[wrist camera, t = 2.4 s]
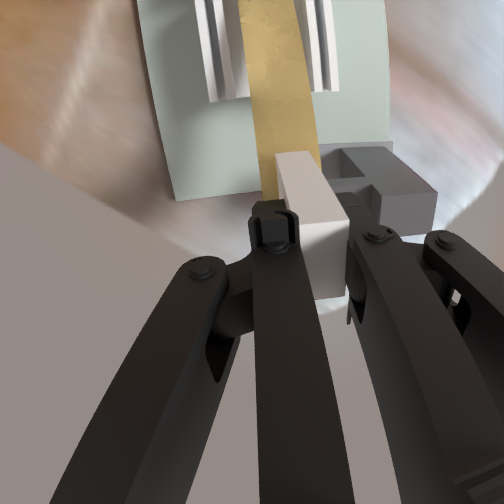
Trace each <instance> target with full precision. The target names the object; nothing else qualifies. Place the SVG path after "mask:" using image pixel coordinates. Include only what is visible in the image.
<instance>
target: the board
mask: <svg viewBox="0 0 504 504" xmlns="http://www.w3.org/2000/svg"><path fill="white" fill-rule="evenodd" d="M293 2H294V6H295V11H296V16H297V20H298V25H299V30H300V35H301V40H302V45H303V50H304V55H305V61H306V66H307V72H308V78H309V84H310V90H311V96H312V102H313V109H314V115H315V122H316V129H317V137H318V144H319V152H320V160H321V168H322V174H323V175H324V177H325V179H326V180H327V179H340V178H341V148H353V147H381V146H384V147H385V148H387V149H388V150H389V151H390V152H392V153H393V142H392V141H390V74H389V52H388V38H387V25H386V15H385V6H384V0H293ZM137 5H138V12H139V19H140V25H141V32H142V38H143V44H144V50H145V56H146V62H147V67H148V73H149V78H150V84H151V89H152V94H153V99H154V104H155V109H156V114H157V119H158V124H159V129H160V133H161V138H162V143H163V147H164V152H165V156H166V161H167V165H168V169H169V174H170V178H171V182H172V186H173V191H174V195H175V199H176V202H177V201H184V200H191V199H198V198H206V197H214V196H221V195H229V194H238V193H246V192H255V191H262V190H261V181H260V173H259V164H258V156H257V147H256V139H255V130H254V122H253V114H252V106H251V98H250V90H249V82H248V74H247V67H246V59H245V51H244V44H243V36H242V29H241V22H240V14H239V7H238V0H137Z"/></svg>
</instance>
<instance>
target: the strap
mask: <svg viewBox="0 0 504 504" xmlns="http://www.w3.org/2000/svg"><path fill="white" fill-rule="evenodd" d="M238 7H239V14H240V22H241V29H242V36H243V44H244V51H245V59H246V67H247V74H248V82H249V90H250V98H251V106H252V114H253V122H254V130H255V139H256V147H257V156H258V164H259V173H260V181H261V190H262V199H263V201H267V200H276V199H279V191H278V180H277V169H276V159H275V153H285V152H296V151H309V153H310V154H311V156H312V157H313V159H314V161H315V162H316V164H317V165H318V167H319V169H320V170H321V172H322V168H321V160H320V152H319V144H318V137H317V129H316V122H315V115H314V109H313V102H312V96H311V90H310V84H309V78H308V72H307V66H306V61H305V55H304V50H303V45H302V40H301V35H300V30H299V25H298V20H297V16H296V11H295V6H294V2H293V0H238Z"/></svg>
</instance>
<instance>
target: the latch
mask: <svg viewBox="0 0 504 504" xmlns="http://www.w3.org/2000/svg"><path fill="white" fill-rule="evenodd" d="M327 182H328V184H329V185H330V187H331V189H332V190H333V192H334V193H341V192H352V193H354V194H355V195H357V196H359V197H360V198H361V199H362V201H363V202H364V203H365V205H366V206H367V208H368V209H369V211H370V212H371V213H372V215H373V216H374V218H375V219H376V221H377V222H378V224H379V225H383V226H387V227H389V228H391V229H393V230H394V231H395V232H396V233H397V234H398V235H399V236H400V237H401V236H410V235H420V234H427V233H429V232H431V231H432V225H433V220H434V214H435V208H436V202H437V195H438V192H437V191H436V190H434V189H433V188H432V187H431V186H430V185H429V184H428V183H427V182H426V181H425V180H423V179H422V178H421V177H420V176H419V175H418V174H417V173H415V172H414V171H413V170H412V169H411V168H410V167H409V166H407V165H406V164H405V163H404V162H403V161H401V160H400V159H399V158H398V157H397V156H395V155H394V154H393V153H392V152H390V151H389V150H388V149H387V148H385V147H384V146H381V147H353V148H341V178H340V179H327Z"/></svg>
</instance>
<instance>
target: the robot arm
mask: <svg viewBox="0 0 504 504" xmlns="http://www.w3.org/2000/svg"><path fill="white" fill-rule="evenodd" d="M275 159H276V169H277V180H278V191H279V199H276V200H267V201H257V203H256V204H255V205H254V206H253V208H252V216H251V217H250V218H249V221H248V228H249V235H250V242H251V249H252V251H251V252H250V254H248V255H247V256H246V257H245V258H243V259H242V260H240V261H237V262H235V263H232V264H229V265H226V264H225V262H224V261H223V260H222V259H220V258H218V257H213V256H201V257H197V258H194V259H191V260H189V261H188V262H186V263H184V264H183V265H182V266H181V267H180V268H179V269H178V271H177V272H176V274H175V276H174V277H173V279H172V280H171V282H170V284H169V285H168V287H167V289H166V290H165V292H164V293H163V295H162V297H161V298H160V300H159V302H158V304H157V305H156V307H155V308H154V310H153V312H152V313H151V315H150V317H149V318H148V320H147V322H146V323H145V325H144V327H143V328H142V330H141V332H140V333H139V336H138V337H137V338H136V340H135V342H134V344H133V345H132V347H131V349H130V351H129V352H128V354H127V356H126V357H125V359H124V361H123V363H122V365H121V366H120V368H119V370H118V372H117V373H116V375H115V377H114V379H113V380H112V382H111V384H110V386H109V388H108V389H107V391H106V393H105V395H104V397H103V399H102V401H101V402H100V404H99V406H98V408H97V410H96V412H95V413H94V415H93V417H92V419H91V421H90V423H89V425H88V427H87V428H86V431H85V432H84V434H83V436H82V438H81V440H80V442H79V444H78V446H77V448H76V450H75V452H74V454H73V456H72V458H71V460H70V462H69V464H68V466H67V468H66V470H65V472H64V474H63V476H62V478H61V480H60V482H59V484H58V486H57V488H56V490H55V493H54V495H53V497H52V499H51V501H50V503H49V504H185V503H186V500H187V497H188V494H189V492H190V489H191V486H192V483H193V480H194V477H195V474H196V472H197V469H198V466H199V463H200V460H201V457H202V454H203V451H204V448H205V445H206V442H207V439H208V436H209V433H210V430H211V427H212V425H213V421H214V418H215V416H216V413H217V410H218V407H219V404H220V401H221V398H222V395H223V392H224V388H225V385H226V382H227V379H228V377H229V374H230V370H231V367H232V364H233V361H234V358H235V355H236V352H237V349H238V346H239V343H240V337H241V335H243V334H246V333H249V332H252V331H254V338H255V339H254V341H255V370H256V372H255V373H256V400H257V401H256V403H257V432H258V434H257V435H258V462H259V463H258V465H259V493H260V494H259V496H260V504H355V500H354V494H353V488H352V481H351V476H350V470H349V464H348V459H347V452H346V447H345V442H344V436H343V431H342V425H341V420H340V415H339V410H338V405H337V400H336V396H335V390H334V385H333V381H332V376H331V371H330V367H329V362H328V357H327V353H326V348H325V344H324V339H323V336H322V331H321V326H320V322H319V318H318V314H317V309H316V305H315V301H314V300H318V299H326V298H334V297H342V296H345V287H346V285H347V287H348V290H349V302H348V312H347V324H350V321H351V317H352V319H353V322H354V325H355V328H356V331H357V334H358V337H359V340H360V344H361V347H362V350H363V353H364V356H365V360H366V363H367V367H368V370H369V374H370V377H371V380H372V384H373V387H374V391H375V395H376V398H377V402H378V405H379V409H380V413H381V417H382V420H383V424H384V428H385V432H386V436H387V440H388V444H389V449H390V453H391V457H392V461H393V466H394V470H395V475H396V479H397V484H398V489H399V493H400V498H401V504H504V272H502V271H501V270H500V269H499V268H498V267H497V266H495V265H494V264H493V263H492V262H491V261H489V260H488V259H487V258H486V257H485V256H483V255H482V254H481V253H480V252H479V251H477V250H476V249H475V248H474V247H472V246H471V245H470V244H469V243H467V242H466V241H465V240H464V239H462V238H461V237H459V236H458V235H456V234H454V233H451V232H449V231H446V230H444V231H443V230H436V231H431V232H429V233H427V235H426V237H425V240H424V244H417V243H408V242H403V241H402V239H401V238H400V236H399V235H398V234H397V233H396V232H395V231H394V230H393V229H391V228H389V227H387V226H383V225H379V224H378V222H377V221H376V219H375V218H374V216H373V215H372V213H371V212H370V211H369V209H368V208H367V206H366V205H365V203H364V202H363V201H362V199H361V198H360V197H359V196H357V195H355V194H354V193H352V192H341V193H334V192H333V190H332V189H331V187H330V185H329V184H328V182H327V180H326V179H325V177H324V175H323V174H322V172H321V170H320V169H319V167H318V165H317V164H316V162H315V161H314V159H313V157H312V156H311V154H310V153H309V151H296V152H285V153H275ZM455 289H456V290H457V291H458V292H459V293H460V294H461V298H460V300H459V303H458V304H457V303H455V302H454V301H453V300H452V296H453V293H454V290H455Z"/></svg>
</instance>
